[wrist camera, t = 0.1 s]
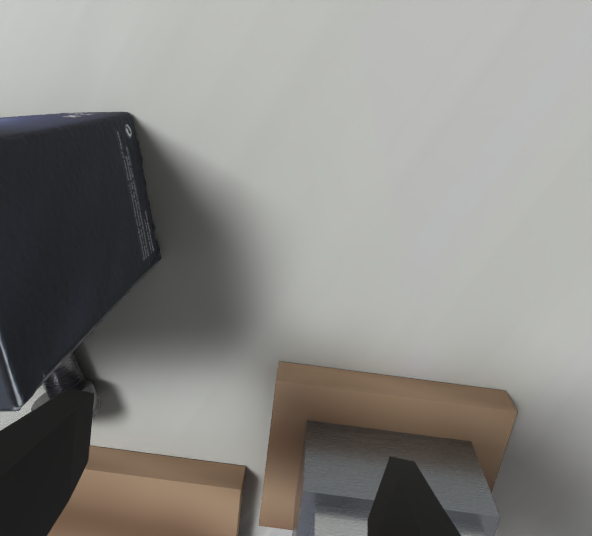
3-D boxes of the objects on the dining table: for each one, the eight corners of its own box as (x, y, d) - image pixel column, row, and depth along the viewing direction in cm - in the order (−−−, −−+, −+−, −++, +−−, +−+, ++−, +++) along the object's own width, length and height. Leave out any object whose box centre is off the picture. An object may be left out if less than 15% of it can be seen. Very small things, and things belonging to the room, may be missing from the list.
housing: (447, 521, 24) (481, 648, 19) (294, 501, 24) (286, 622, 19) (471, 441, 22) (515, 556, 17) (307, 420, 22) (301, 528, 17)
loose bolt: (109, 392, 24) (87, 429, 22) (57, 403, 25) (29, 439, 22) (59, 274, 22) (28, 299, 20) (3, 286, 22) (-34, 313, 20)
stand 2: (463, 527, 26) (471, 553, 25) (262, 500, 26) (258, 525, 25) (506, 390, 23) (517, 411, 22) (279, 361, 23) (276, 380, 22)
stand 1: (233, 584, 28) (228, 611, 27) (48, 559, 28) (34, 585, 27) (245, 466, 25) (240, 489, 24) (39, 439, 25) (23, 461, 24)
